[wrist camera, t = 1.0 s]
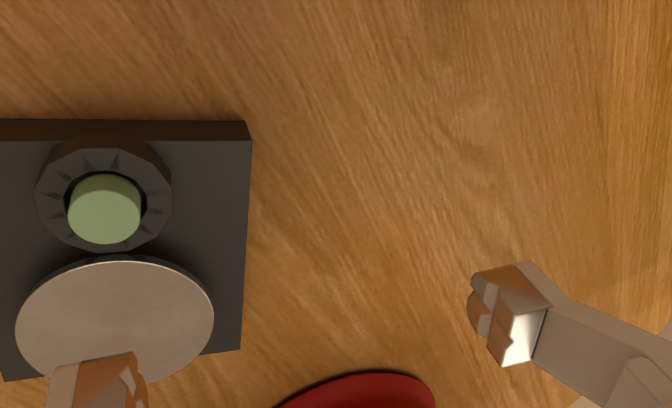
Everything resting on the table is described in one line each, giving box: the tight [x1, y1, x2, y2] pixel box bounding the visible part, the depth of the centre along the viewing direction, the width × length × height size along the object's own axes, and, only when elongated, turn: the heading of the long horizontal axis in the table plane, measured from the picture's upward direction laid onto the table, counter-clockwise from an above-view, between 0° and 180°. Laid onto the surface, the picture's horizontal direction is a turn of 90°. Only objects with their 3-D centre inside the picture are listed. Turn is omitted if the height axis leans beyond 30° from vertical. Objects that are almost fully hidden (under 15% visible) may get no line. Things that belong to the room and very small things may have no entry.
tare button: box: [67, 174, 141, 244], centre depth 23 cm, size 3×3×2 cm
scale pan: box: [15, 254, 214, 385], centre depth 27 cm, size 10×10×1 cm
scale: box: [0, 119, 252, 382], centre depth 28 cm, size 16×14×4 cm
